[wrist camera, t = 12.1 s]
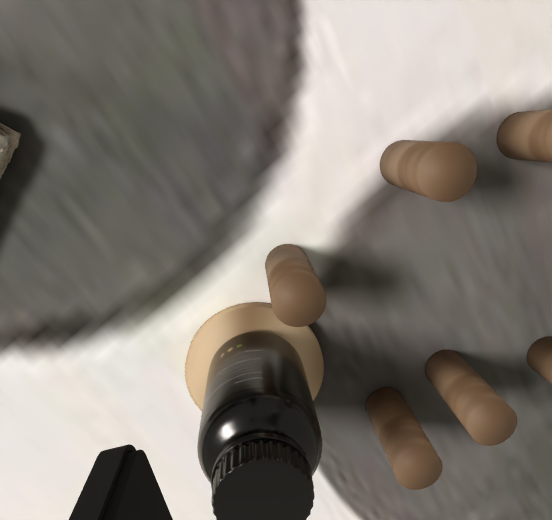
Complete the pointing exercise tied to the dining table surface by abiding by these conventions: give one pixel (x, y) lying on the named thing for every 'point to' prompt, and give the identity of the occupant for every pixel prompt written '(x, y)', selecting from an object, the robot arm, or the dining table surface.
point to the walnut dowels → (446, 363)
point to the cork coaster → (244, 321)
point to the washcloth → (7, 146)
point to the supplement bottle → (259, 431)
